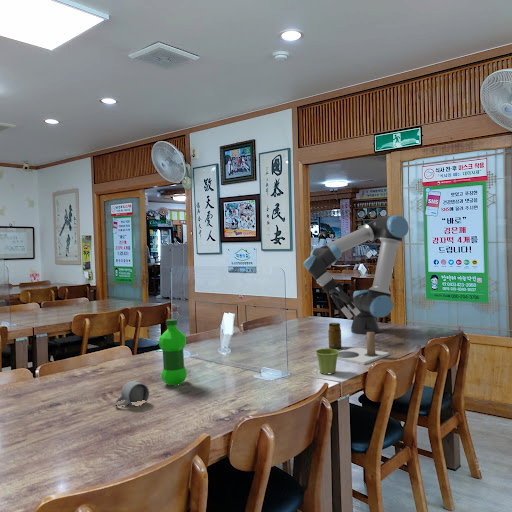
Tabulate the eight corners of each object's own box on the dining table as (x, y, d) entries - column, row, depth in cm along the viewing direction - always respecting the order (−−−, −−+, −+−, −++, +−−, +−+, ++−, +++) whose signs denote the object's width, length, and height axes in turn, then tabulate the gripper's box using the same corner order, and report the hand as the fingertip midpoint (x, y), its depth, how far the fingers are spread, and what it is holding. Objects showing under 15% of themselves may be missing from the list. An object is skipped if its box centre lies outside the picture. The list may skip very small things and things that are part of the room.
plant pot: (340, 369, 192) (340, 348, 192) (338, 376, 183) (337, 354, 183) (317, 368, 195) (317, 348, 194) (314, 375, 186) (313, 354, 185)
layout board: (354, 348, 225) (353, 325, 224) (389, 354, 212) (388, 330, 211) (328, 357, 211) (327, 333, 211) (363, 364, 198) (363, 338, 197)
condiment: (334, 345, 233) (333, 321, 233) (348, 348, 227) (347, 323, 226) (324, 348, 229) (323, 323, 228) (338, 351, 222) (337, 326, 221)
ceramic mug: (140, 397, 169) (138, 376, 168) (150, 403, 162) (148, 381, 162) (111, 405, 162) (109, 383, 162) (120, 412, 156) (119, 389, 155)
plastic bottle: (158, 382, 185) (155, 319, 184) (185, 378, 189) (182, 316, 188) (163, 389, 176) (159, 323, 175) (191, 385, 180) (187, 320, 178)
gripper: (316, 291, 248) (342, 323, 245) (326, 282, 224) (355, 317, 220) (327, 283, 250) (353, 314, 246) (338, 272, 226) (367, 307, 222)
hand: (354, 316), depth 233 cm, fingers open, 13 cm apart
